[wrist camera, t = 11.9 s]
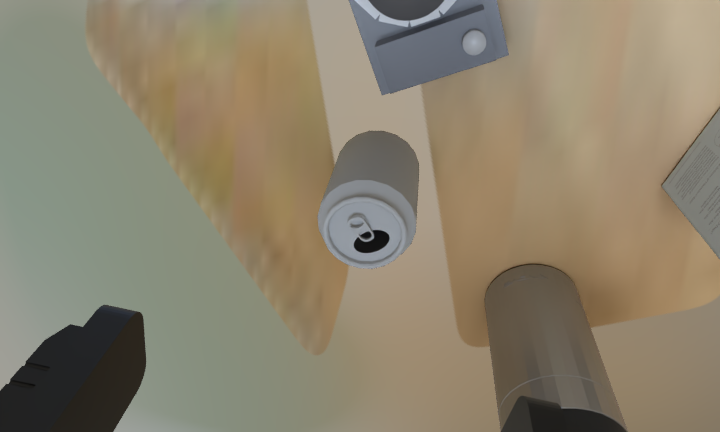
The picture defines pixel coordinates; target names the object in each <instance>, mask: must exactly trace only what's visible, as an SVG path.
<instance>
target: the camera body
mask: <svg viewBox="0 0 720 432" xmlns="http://www.w3.org/2000/svg"><path fill="white" fill-rule="evenodd" d="M349 2H350V5H351V8H352V11H353V14H354V17H355V19H356V22H357V25H358V28H359V31H360V34H361V37H362V40H363V42H364V45H365V48H366V51H367V54H368V57H369V60H370V63H371V65H372V68H373V71H374V74H375V76H376V80H377V82H378V85H379V88H380V91H381V94H382V95H385V94H388V93H394V92H397V91H400V90H403V89H407V88H410V87H413V86H416V85H419V84H422V83H426V82H429V81H432V80H435V79H438V78H441V77H444V76H448V75H451V74H454V73H457V72H460V71H463V70H467V69H470V68H473V67H476V66H479V65H482V64H485V63H489V62H492V61H495V60H497V59H498V58H501V57H504V56H507V55H509V53H508V49H507V44H506V40H505V35H504V31H503V26H502V22H501V17H500V13H499V8H498V4H497V0H444V1H443V3H442V4H441V5H440V6H439V7H438V8H437V9H436V10H434V11H433V12H432V13H430V14H429V15H427V16H425V17H423V18H420V19H416V20H411V21H401V20H395V19H392V18H389V17H387V16H385V15H383V14H382V13H380V12H379V11H378V10H377V9H376V8H375V7H374V6H373V5H372V4H371V3H370V2H369V0H349Z"/></svg>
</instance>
